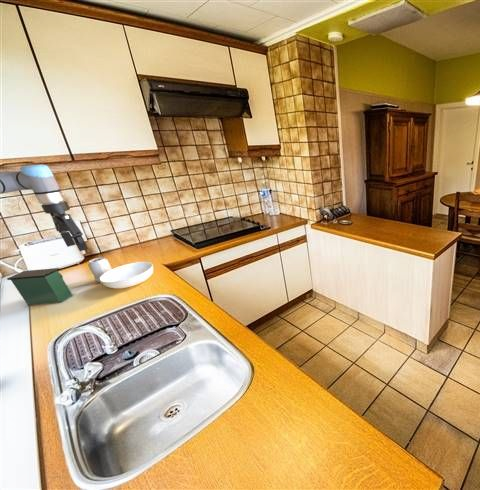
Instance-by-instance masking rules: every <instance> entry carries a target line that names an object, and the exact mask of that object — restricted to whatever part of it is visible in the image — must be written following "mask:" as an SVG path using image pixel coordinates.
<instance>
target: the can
mask: <svg viewBox="0 0 480 490" xmlns="http://www.w3.org/2000/svg"><path fill="white" fill-rule="evenodd" d="M87 266H88V268H89V270H90V272H91V274H92V275H93V277H94V279H95V282H98V283H101V281H100V277H101V276H102V275H103V274H104V273H106V272H108V271H110V270H112V269H113V267H112V266H111V263H110V262H109V260H108V259H107V258H105V257H103V256H100V257H95V258H92V259H90V260H89V261H88V265H87Z"/></svg>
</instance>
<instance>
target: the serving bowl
mask: <svg viewBox="0 0 480 490" xmlns="http://www.w3.org/2000/svg"><path fill="white" fill-rule="evenodd" d="M153 273H154V264H153V263H152V262H149V261H137V262H131V263H126V264H124V265H120V266H117V267H115V268H112V270H110V271H108V272H106V273H104V274H103V275H102V276H101V277H100V281H101V282H100V283H101V284H102V285H103V286H105V287H107V288H110V289H126V288H130V287H134V286H136V285H139V284H141V283H144V282H145V281H146V280H148V279H149V278H150V277H151V276H152V275H153Z"/></svg>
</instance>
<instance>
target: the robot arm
mask: <svg viewBox="0 0 480 490" xmlns="http://www.w3.org/2000/svg"><path fill="white" fill-rule="evenodd" d="M28 190H31V191H32V192H33V194H34V196H35V198H36V200H37V201H38V204H39V205H41V208H42V210H43V212H44V213H45V214H49V215H50V216H51V219H52V222H53V224H54V228H55V230H56V232H58V234H60V236H61V238H62V240H63V242H64V244H65V245H66V247H73V246H75V245H76V247H77V249H78V251H79V252H83V251H86V250H89V247H88V245H87V244H86V241H85V239H84V237H83V235H84V234H83V232H82V231H81V229H80V228H79V226H78V225H77V223H76V222H75V221H74V219H73V217H72V215H71V214H70V213H66V212H67V211H69V210H71V207H70V205H69V203H68V201H66V198H65V196H64V195H65V192H62V190H61V188H60V186H59V183H58V182H57V180H56V177H55V176H54V173H53V172H52V171H51V169H50V168H49V166H48V165H46V164H32V165H22V166H20V170H17V171H14V170H13V171H1V172H0V195H1V194H8V193H13V192H19V191H28Z"/></svg>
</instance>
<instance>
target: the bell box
mask: <svg viewBox="0 0 480 490" xmlns="http://www.w3.org/2000/svg"><path fill="white" fill-rule="evenodd" d="M60 270H61V269H60V267H54V268H53V267H52V268H44V269H43V268H41V269H31V270H30V269H29V270H23V271H21V272H18V273H16V274H14V275H12V276H9V277H7V278H6V280H7V281H11V283H12V284H13V286H14V287H15V289H16V290H17V292H18V294H19V295H20V296H21V297H22V299H23V300H24V301H25V303H26V305H27V306H28V307H29V306H38V305H39V306H40V305H49V304H58V303H59V304H60V303H62V302H65V301H66V300H68V299H69V298H71V297H72V296H73V293H72V292H71V289H70V288H69V287H68V285H67V283H66V282H65V280H64V277H63V278H62V277H61V275H62V274H61V272H59V271H60ZM60 274H61V275H60Z"/></svg>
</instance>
